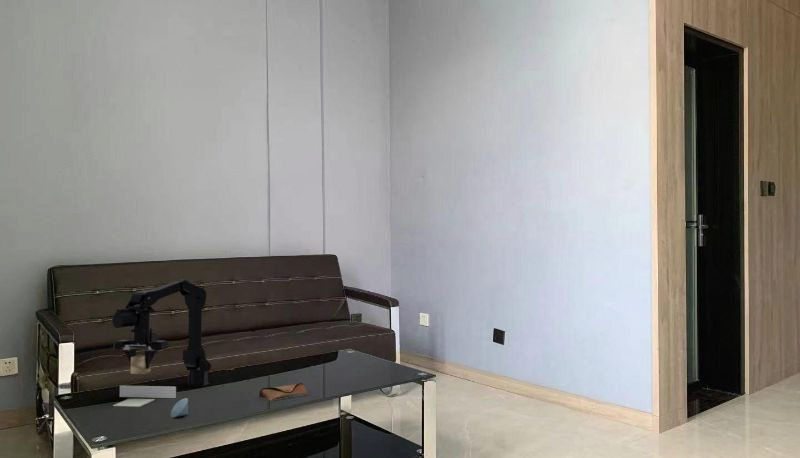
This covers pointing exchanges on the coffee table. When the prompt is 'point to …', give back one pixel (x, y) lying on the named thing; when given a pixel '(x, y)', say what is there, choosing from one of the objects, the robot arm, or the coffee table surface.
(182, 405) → the gemstone
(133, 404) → the pad
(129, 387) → the frosted wall
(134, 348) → the robot arm
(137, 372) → the maple block
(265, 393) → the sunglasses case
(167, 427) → the coffee table surface
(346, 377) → the coffee table surface
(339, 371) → the coffee table surface
